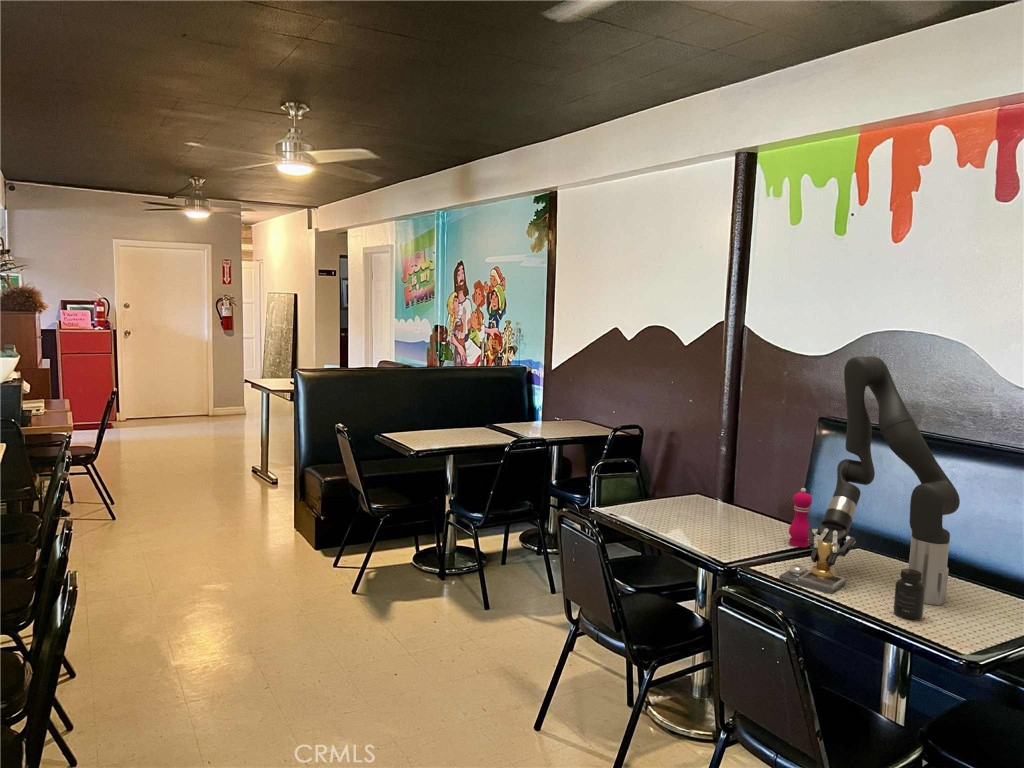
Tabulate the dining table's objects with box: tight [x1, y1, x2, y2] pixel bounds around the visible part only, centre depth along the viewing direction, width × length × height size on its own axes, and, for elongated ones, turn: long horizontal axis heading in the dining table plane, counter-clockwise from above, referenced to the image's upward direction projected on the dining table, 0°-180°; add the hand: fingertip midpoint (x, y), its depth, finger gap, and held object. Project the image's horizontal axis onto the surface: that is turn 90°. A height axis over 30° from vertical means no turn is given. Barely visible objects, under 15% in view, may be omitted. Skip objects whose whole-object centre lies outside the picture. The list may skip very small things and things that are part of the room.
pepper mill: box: [788, 487, 813, 548], centre depth 248 cm, size 7×7×20 cm
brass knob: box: [811, 540, 835, 579], centre depth 210 cm, size 6×6×10 cm
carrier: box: [778, 564, 847, 595], centre depth 213 cm, size 15×12×3 cm
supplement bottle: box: [893, 568, 925, 621], centre depth 190 cm, size 7×7×12 cm
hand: (821, 563), depth 209 cm, fingers closed on brass knob, 3 cm apart
